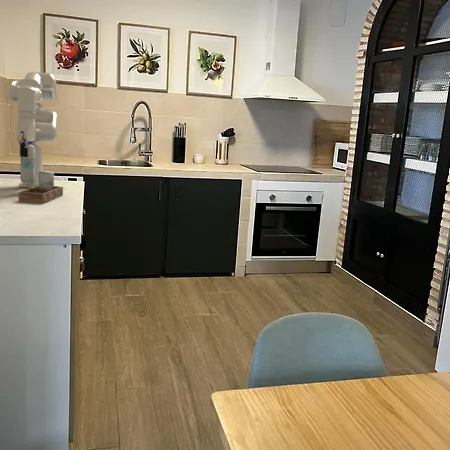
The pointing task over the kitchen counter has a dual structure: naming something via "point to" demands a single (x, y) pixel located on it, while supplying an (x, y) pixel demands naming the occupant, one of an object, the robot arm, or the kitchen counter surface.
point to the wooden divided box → (42, 190)
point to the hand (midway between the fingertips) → (27, 155)
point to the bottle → (28, 165)
